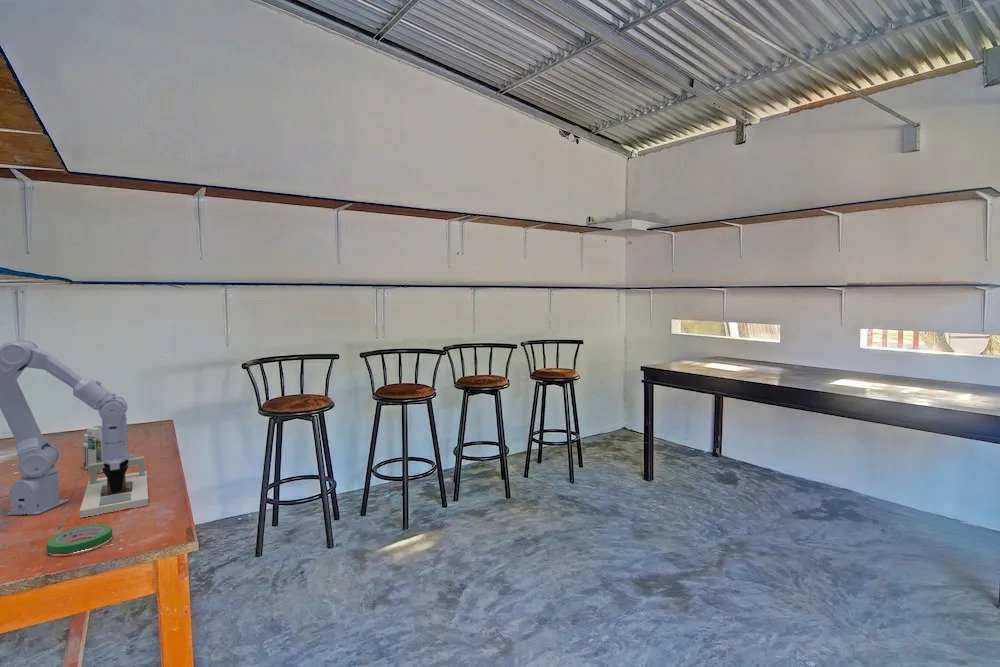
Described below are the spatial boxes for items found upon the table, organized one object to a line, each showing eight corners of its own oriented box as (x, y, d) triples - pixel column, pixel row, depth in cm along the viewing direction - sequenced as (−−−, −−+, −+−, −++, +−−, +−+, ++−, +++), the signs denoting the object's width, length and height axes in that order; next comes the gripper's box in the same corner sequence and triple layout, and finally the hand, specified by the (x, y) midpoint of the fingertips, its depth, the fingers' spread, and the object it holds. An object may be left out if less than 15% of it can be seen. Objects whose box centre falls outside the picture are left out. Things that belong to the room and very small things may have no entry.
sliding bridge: (144, 474, 154) (144, 457, 154) (89, 483, 147) (89, 465, 147) (144, 473, 156) (144, 456, 156) (90, 481, 148) (89, 464, 148)
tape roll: (43, 563, 104) (43, 550, 104) (50, 544, 113) (50, 532, 113) (111, 548, 111) (111, 536, 111) (113, 531, 120) (112, 520, 120)
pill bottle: (111, 465, 173) (110, 431, 172) (94, 470, 167) (92, 436, 166) (96, 463, 174) (95, 431, 174) (78, 469, 168) (77, 435, 168)
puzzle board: (148, 506, 135) (148, 497, 135) (79, 518, 127) (79, 509, 126) (146, 477, 159) (146, 470, 159) (89, 486, 151) (89, 478, 151)
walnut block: (125, 495, 142) (125, 477, 142) (107, 498, 140) (106, 480, 140) (126, 491, 146) (125, 474, 145) (108, 494, 143) (107, 477, 143)
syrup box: (87, 472, 165) (85, 427, 165) (107, 467, 171) (105, 424, 170) (98, 474, 163) (96, 429, 163) (118, 468, 169) (116, 425, 168)
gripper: (132, 444, 139) (134, 493, 139) (132, 434, 150) (134, 479, 151) (99, 448, 135) (101, 499, 135) (102, 437, 146) (104, 484, 147)
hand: (116, 489), depth 143 cm, fingers closed on walnut block, 4 cm apart
